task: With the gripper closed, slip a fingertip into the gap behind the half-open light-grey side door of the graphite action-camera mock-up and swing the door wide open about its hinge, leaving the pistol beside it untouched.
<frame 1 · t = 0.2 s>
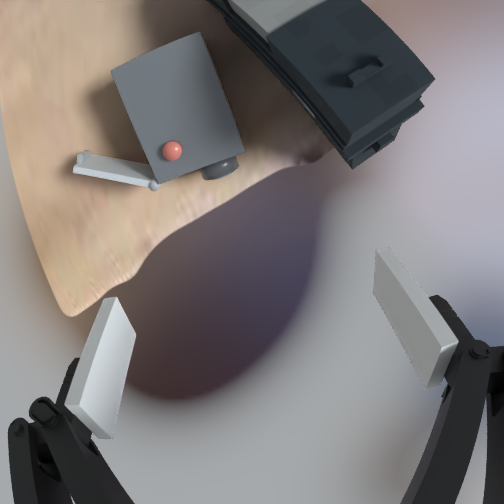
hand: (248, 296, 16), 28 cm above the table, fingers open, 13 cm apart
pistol: (295, 51, 34), on the table
camera body: (185, 103, 36), on the table
door: (121, 166, 36), point 4 cm above the table, hinge at 55.0°
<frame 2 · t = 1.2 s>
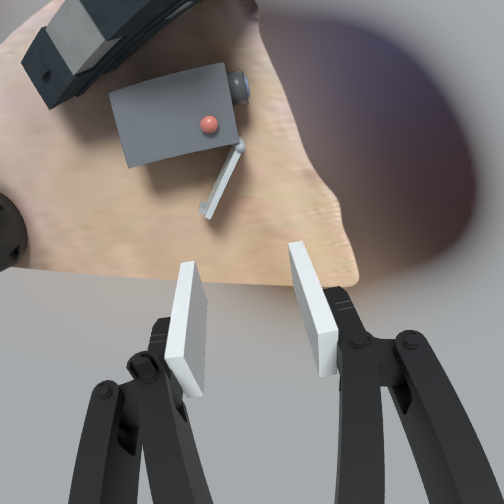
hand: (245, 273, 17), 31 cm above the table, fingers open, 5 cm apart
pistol: (146, 16, 33), on the table
camera body: (180, 109, 40), on the table
door: (221, 175, 42), point 4 cm above the table, hinge at 55.0°
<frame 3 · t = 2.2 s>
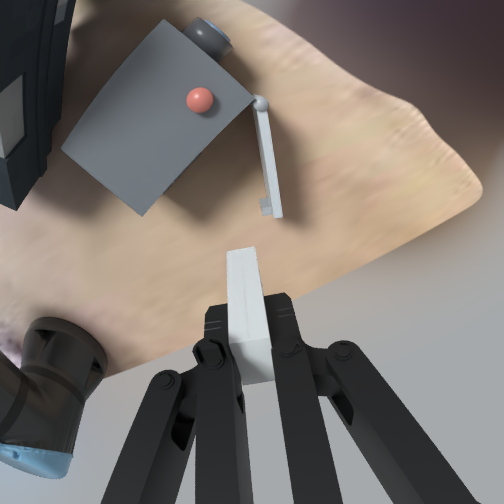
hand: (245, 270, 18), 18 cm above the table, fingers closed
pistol: (57, 47, 24), on the table
camera body: (164, 111, 29), on the table
door: (262, 154, 29), point 4 cm above the table, hinge at 55.0°
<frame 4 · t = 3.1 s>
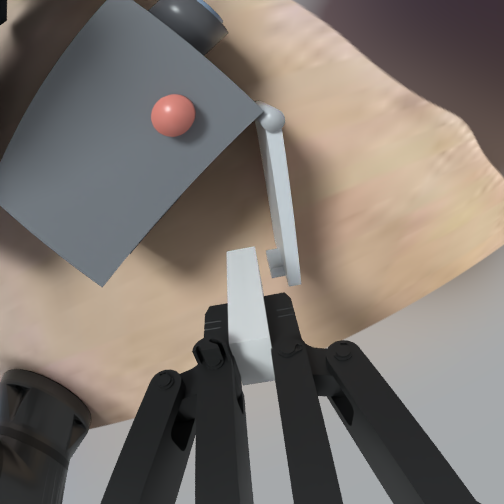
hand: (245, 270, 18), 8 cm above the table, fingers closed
camera body: (131, 128, 20), on the table
door: (271, 192, 20), point 4 cm above the table, hinge at 55.0°
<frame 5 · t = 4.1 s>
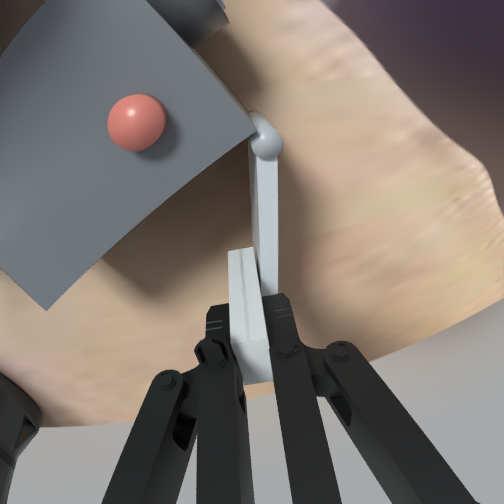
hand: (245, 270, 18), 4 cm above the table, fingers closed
camera body: (101, 125, 16), on the table
door: (255, 226, 17), point 4 cm above the table, hinge at 56.1°, touching gripper
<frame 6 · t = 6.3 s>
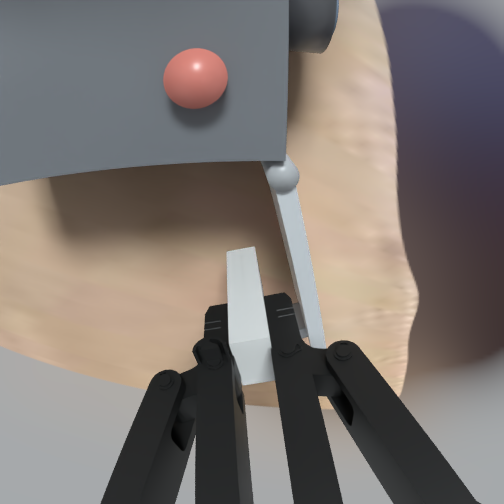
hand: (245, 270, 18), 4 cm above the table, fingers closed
camera body: (137, 52, 14), on the table
door: (287, 249, 17), point 4 cm above the table, hinge at 105.0°
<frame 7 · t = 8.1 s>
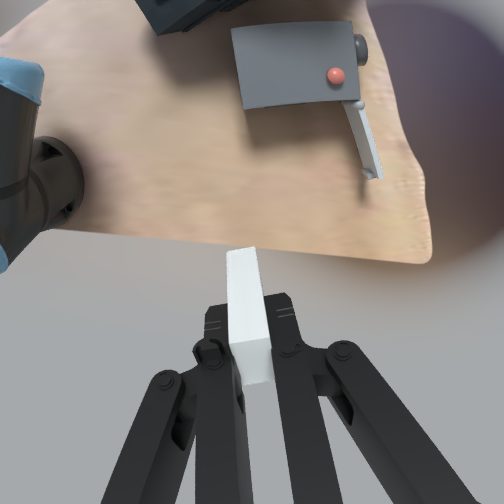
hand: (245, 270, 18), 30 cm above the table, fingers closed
camera body: (289, 64, 37), on the table
door: (360, 138, 39), point 4 cm above the table, hinge at 105.0°
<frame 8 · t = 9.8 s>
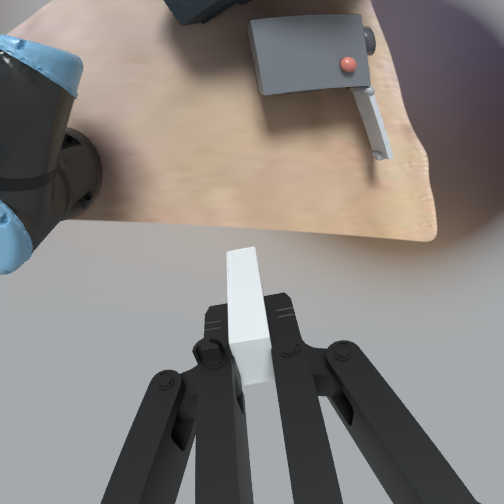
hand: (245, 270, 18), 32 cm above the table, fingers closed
camera body: (301, 54, 39), on the table
door: (370, 122, 41), point 4 cm above the table, hinge at 105.0°
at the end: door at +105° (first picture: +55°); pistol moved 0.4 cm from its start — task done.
